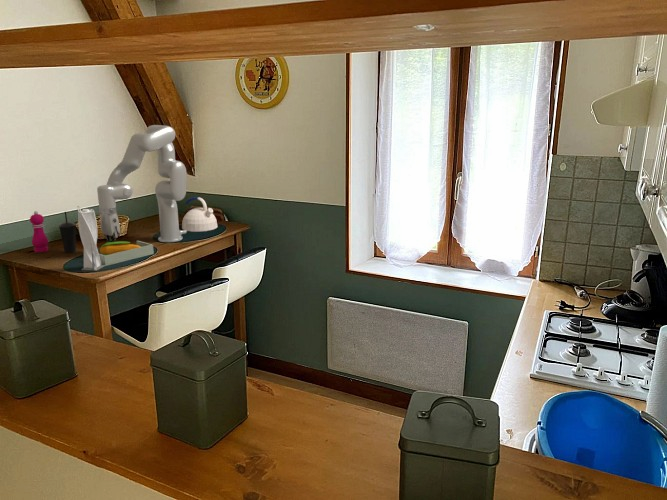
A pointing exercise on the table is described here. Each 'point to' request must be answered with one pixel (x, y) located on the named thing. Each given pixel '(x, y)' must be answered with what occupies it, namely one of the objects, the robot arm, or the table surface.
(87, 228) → the skyscraper
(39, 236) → the pepper mill
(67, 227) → the drinking cup
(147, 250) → the bin
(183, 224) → the kettle
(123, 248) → the corn
